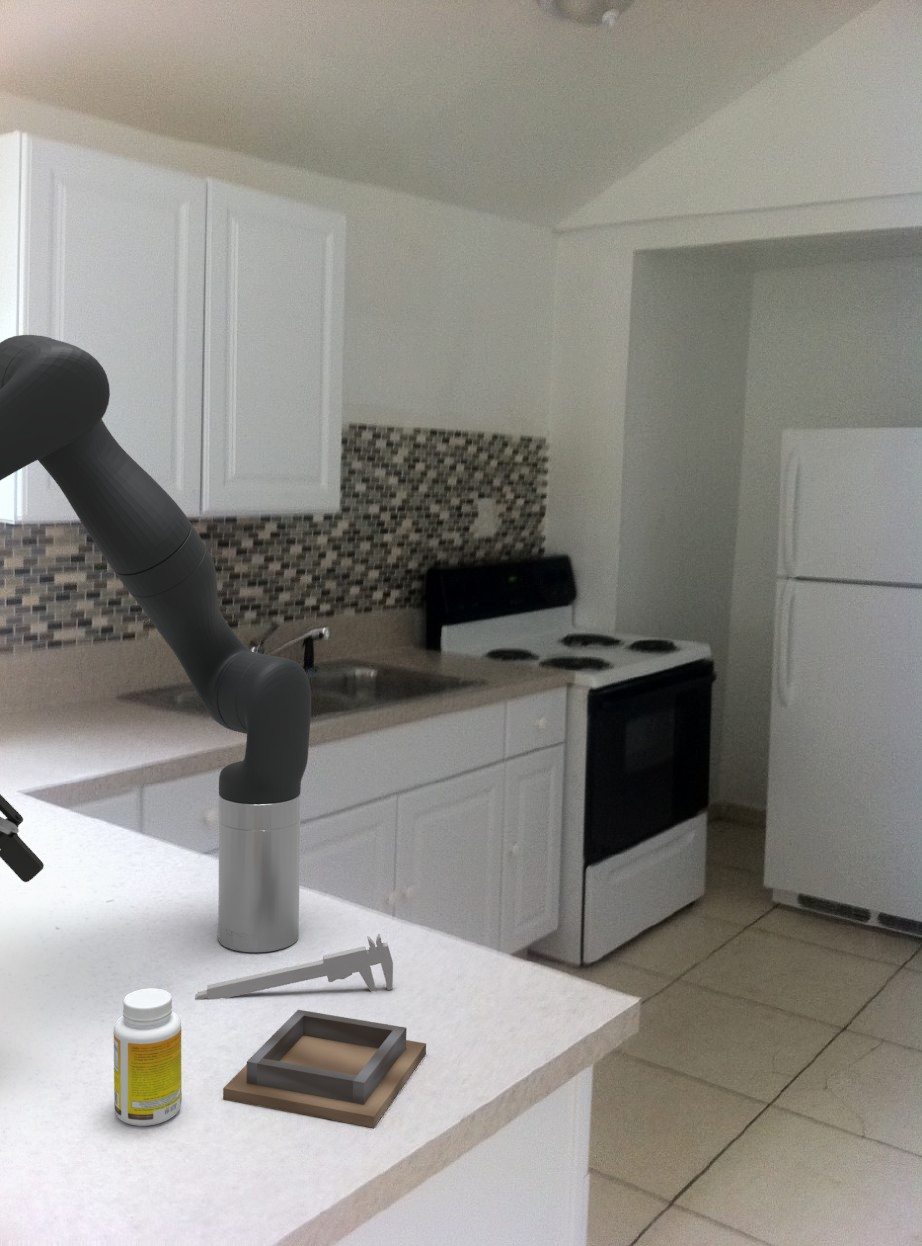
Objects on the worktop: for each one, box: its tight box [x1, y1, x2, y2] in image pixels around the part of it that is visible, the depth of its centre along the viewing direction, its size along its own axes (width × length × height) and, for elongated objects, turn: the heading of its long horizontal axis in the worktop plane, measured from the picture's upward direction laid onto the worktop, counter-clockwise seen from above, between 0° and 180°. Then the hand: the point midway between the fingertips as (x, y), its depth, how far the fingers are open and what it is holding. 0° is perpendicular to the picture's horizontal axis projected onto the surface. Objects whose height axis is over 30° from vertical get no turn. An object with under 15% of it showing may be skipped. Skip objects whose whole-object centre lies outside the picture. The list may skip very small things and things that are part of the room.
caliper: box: [194, 933, 394, 1001], centre depth 130 cm, size 20×1×6 cm, turn 100°
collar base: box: [222, 1009, 427, 1129], centre depth 113 cm, size 14×14×3 cm
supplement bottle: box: [113, 987, 183, 1127], centre depth 106 cm, size 6×6×10 cm
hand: (13, 891), depth 105 cm, fingers open, 8 cm apart
